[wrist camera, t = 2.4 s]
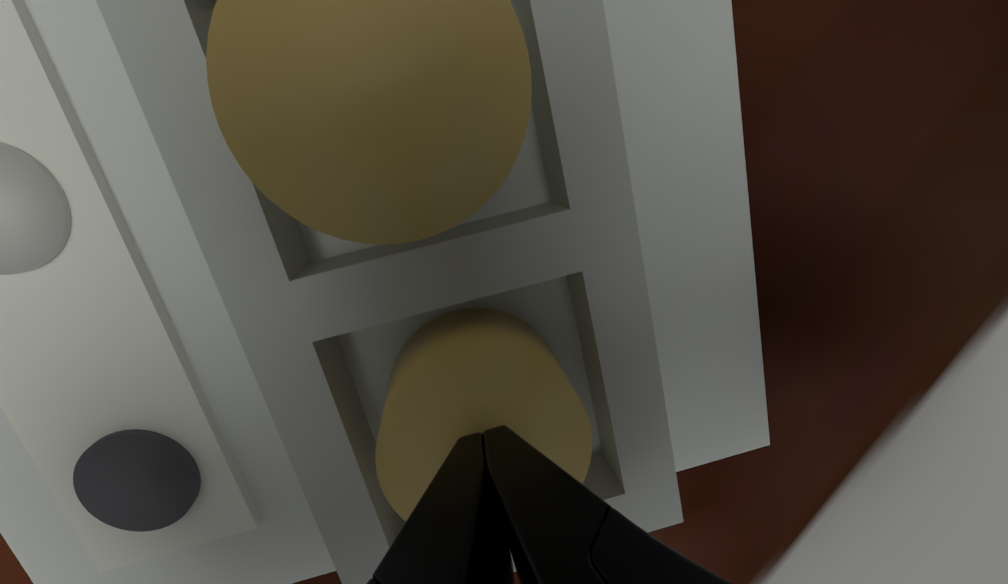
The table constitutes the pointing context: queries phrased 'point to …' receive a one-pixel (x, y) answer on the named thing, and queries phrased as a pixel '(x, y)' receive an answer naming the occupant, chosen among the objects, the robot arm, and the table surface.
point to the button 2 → (474, 400)
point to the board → (344, 293)
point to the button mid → (371, 108)
